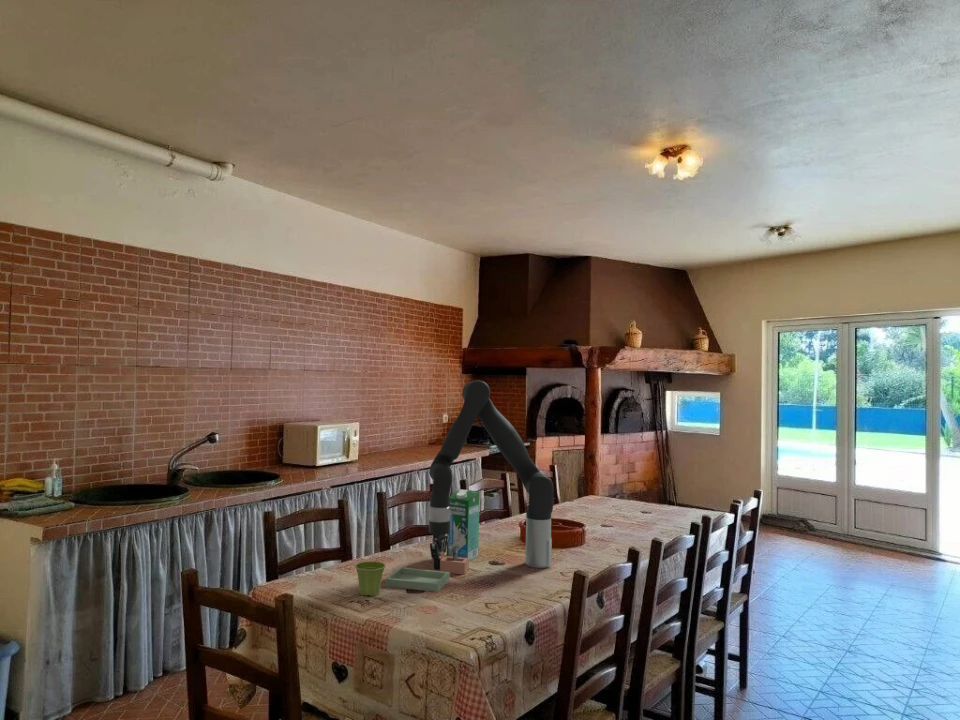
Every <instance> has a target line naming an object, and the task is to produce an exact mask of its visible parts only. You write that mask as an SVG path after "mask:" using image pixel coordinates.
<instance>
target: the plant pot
mask: <svg viewBox="0 0 960 720" xmlns="http://www.w3.org/2000/svg"><path fill="white" fill-rule="evenodd" d="M354 567H355V569H356V573H357V579H358V580H357V581H358V589H359V595H361V596H364V595H365V596H371V597H373V596H377V595H379V594H380V591H381V584H382V578H383V575H384V574H383V573H384V571H385V568H386V567H387V565H386V563H384V562H381V561H377V560H376V561H372V560H370V561H368V560H367V561H362V562H358V563H355V566H354Z"/></svg>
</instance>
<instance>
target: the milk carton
mask: <svg viewBox="0 0 960 720" xmlns="http://www.w3.org/2000/svg"><path fill="white" fill-rule="evenodd" d="M480 493H481V492H480V490H479V491H477V490H469V489H462V488H459V489H458V490H456V491H455V492H454V493H453V494H452V495H450V532H449V533H447V534H446V536H448V539H447V546H446V556H449V557H453V553H452V548H453V547H455V546H459V550H458V552H457V557H460V558H469V562H470V561H472V560H474V559H476V558H478V557H479V538H480V537H479V535H480Z"/></svg>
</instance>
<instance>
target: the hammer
mask: <svg viewBox="0 0 960 720" xmlns="http://www.w3.org/2000/svg"><path fill="white" fill-rule="evenodd" d="M458 550H459V546H455V547H453V548H452V553H453V561H457V552H458Z"/></svg>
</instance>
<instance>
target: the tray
mask: <svg viewBox="0 0 960 720" xmlns="http://www.w3.org/2000/svg"><path fill="white" fill-rule="evenodd" d="M450 577H451V573H450V572H442V571H437V570H431V569H421V568H414V567H413V568H411V567H401V566H400V567H398V568H397V569H396V570H395V571H393V572H392V573H390V574H389V575H388V576H386V577H385V578H384V586H385V587H391V588H397V589H407V590H416V591H417V590H418V591H426V592H427V591H428V592H434V593H435V592H436V593H437V592H439V591H440V590H441V589H442V588H443V587H444V586H446V584H447V583H448V582H449V581H450V580H451V579H450Z"/></svg>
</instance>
